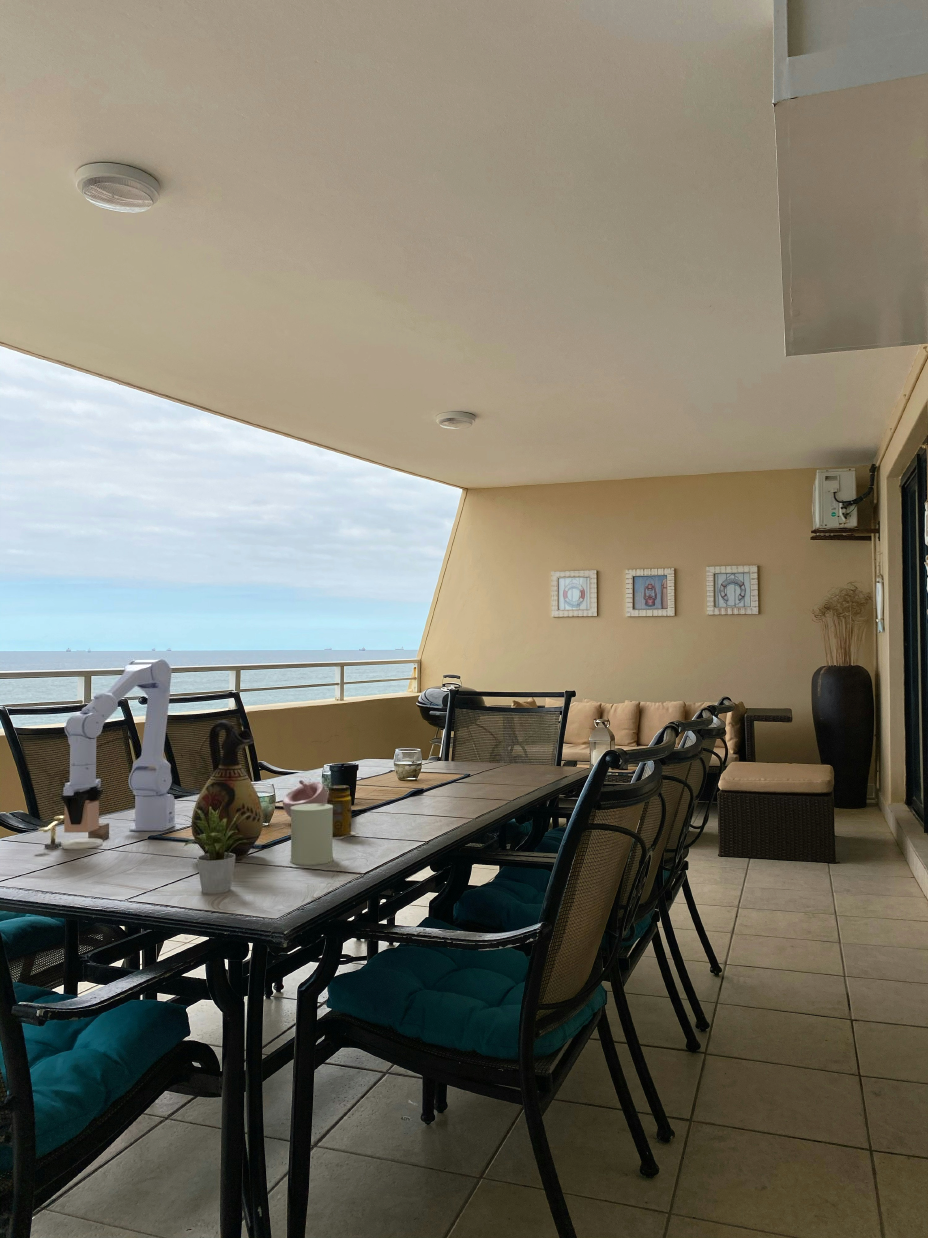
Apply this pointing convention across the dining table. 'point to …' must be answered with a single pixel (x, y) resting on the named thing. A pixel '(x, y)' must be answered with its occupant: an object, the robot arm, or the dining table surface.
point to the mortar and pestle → (305, 795)
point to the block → (100, 832)
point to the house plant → (215, 853)
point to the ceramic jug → (230, 792)
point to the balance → (52, 832)
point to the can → (311, 834)
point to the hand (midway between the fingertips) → (82, 822)
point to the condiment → (340, 811)
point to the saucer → (82, 843)
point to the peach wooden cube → (84, 818)
